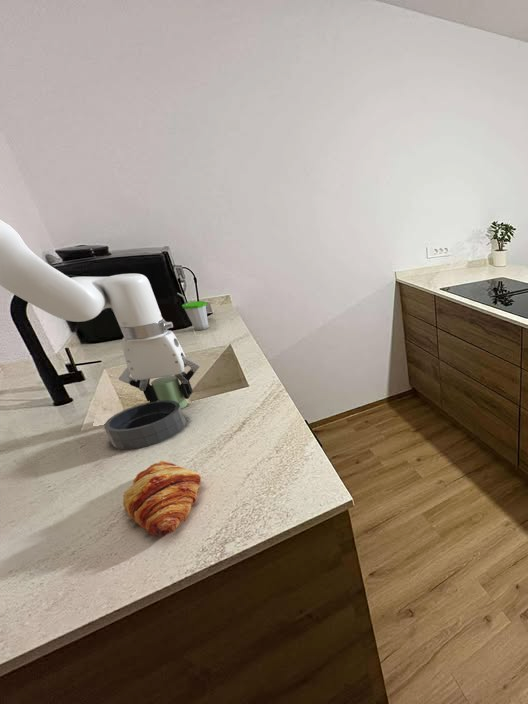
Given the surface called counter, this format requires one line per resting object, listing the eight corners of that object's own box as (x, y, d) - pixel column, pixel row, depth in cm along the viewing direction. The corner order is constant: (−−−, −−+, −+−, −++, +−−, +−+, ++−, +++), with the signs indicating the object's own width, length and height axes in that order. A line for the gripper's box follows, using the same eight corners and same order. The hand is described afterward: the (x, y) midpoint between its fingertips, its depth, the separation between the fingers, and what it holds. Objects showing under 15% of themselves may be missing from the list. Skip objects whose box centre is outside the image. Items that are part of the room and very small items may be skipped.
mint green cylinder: (160, 415, 90) (148, 386, 87) (166, 406, 94) (154, 377, 91) (185, 411, 92) (174, 382, 89) (190, 401, 96) (179, 373, 93)
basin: (103, 458, 75) (93, 437, 73) (126, 426, 86) (117, 407, 84) (179, 441, 80) (171, 422, 78) (192, 413, 91) (185, 395, 89)
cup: (218, 326, 153) (207, 290, 147) (201, 332, 146) (189, 294, 140) (202, 325, 155) (191, 289, 149) (185, 331, 148) (172, 293, 142)
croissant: (151, 493, 71) (109, 472, 66) (199, 452, 74) (163, 430, 69) (158, 567, 56) (105, 547, 51) (218, 512, 60) (174, 488, 55)
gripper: (194, 320, 91) (215, 385, 98) (102, 330, 84) (132, 400, 92) (187, 329, 85) (210, 398, 92) (87, 341, 78) (121, 415, 85)
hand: (171, 398), depth 92 cm, fingers open, 6 cm apart
